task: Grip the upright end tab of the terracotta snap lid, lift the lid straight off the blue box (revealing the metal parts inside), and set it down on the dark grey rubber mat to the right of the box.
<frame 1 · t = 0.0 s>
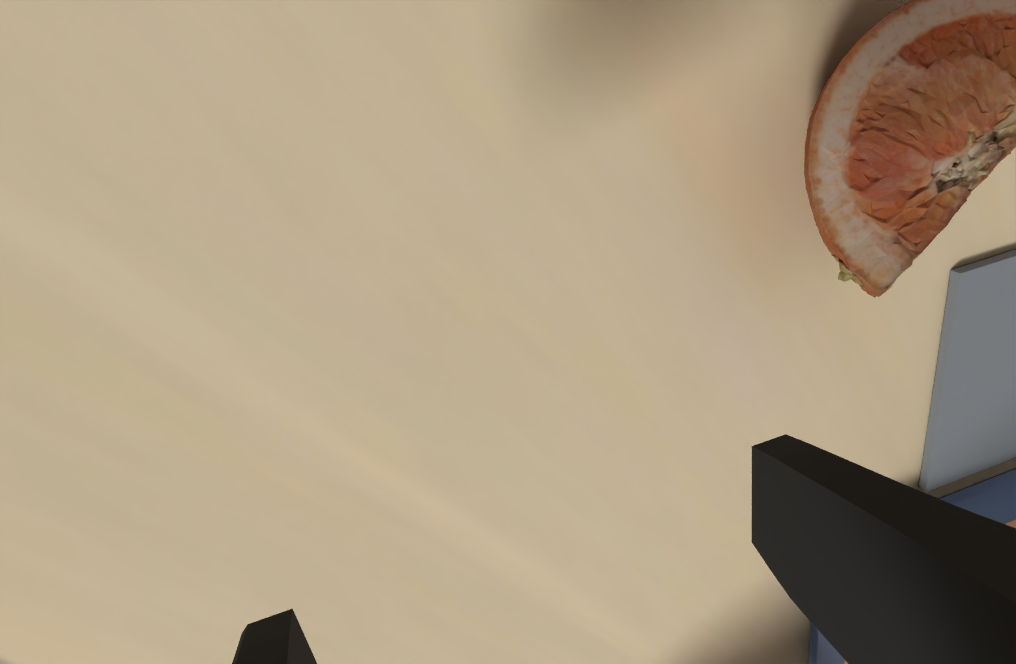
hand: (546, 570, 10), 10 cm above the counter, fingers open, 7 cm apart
blue box: (915, 567, 32), on the counter
fruit slice: (848, 125, 21), on the counter
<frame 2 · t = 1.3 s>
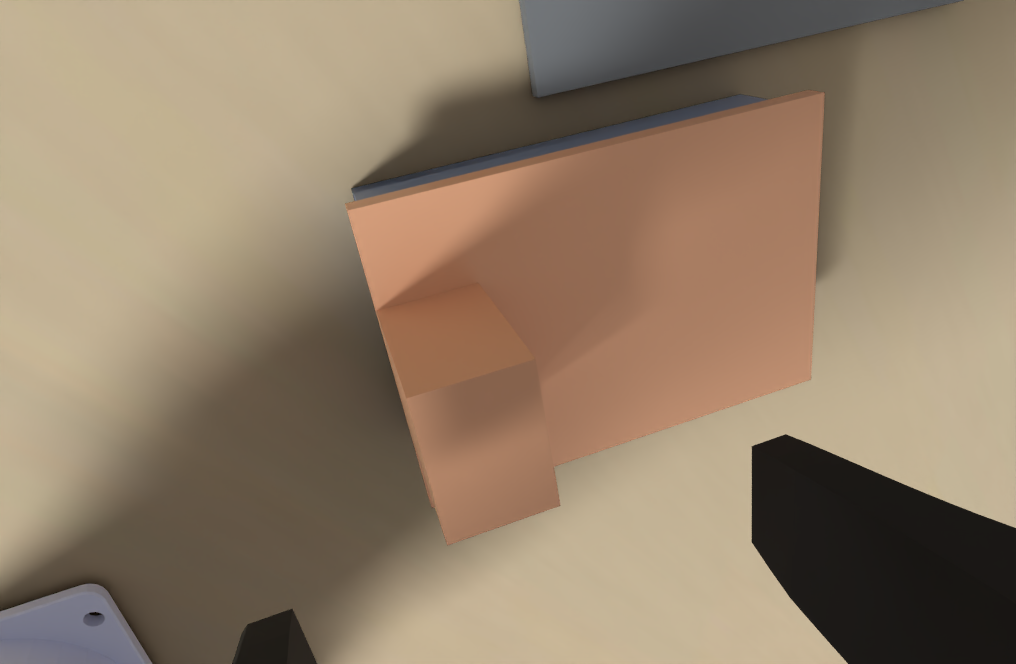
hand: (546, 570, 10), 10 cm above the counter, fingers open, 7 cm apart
blue box: (574, 270, 20), on the counter
lid: (609, 300, 18), point 2 cm above the counter, touching blue box
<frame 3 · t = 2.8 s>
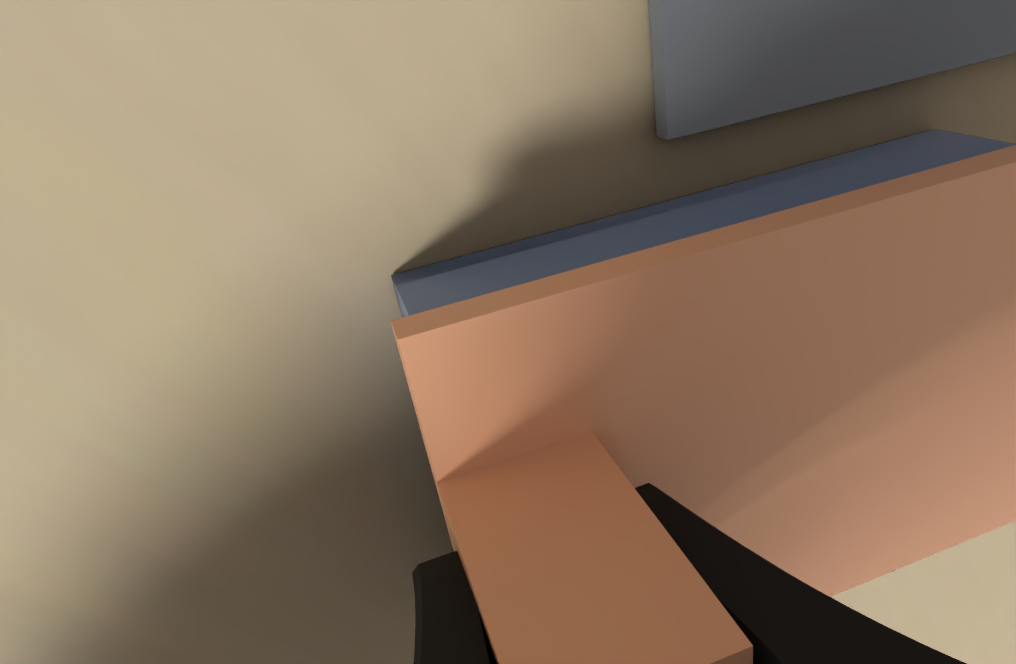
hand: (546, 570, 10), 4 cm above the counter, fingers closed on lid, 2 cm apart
blue box: (693, 372, 14), on the counter
lid: (764, 434, 12), point 2 cm above the counter, touching gripper, blue box
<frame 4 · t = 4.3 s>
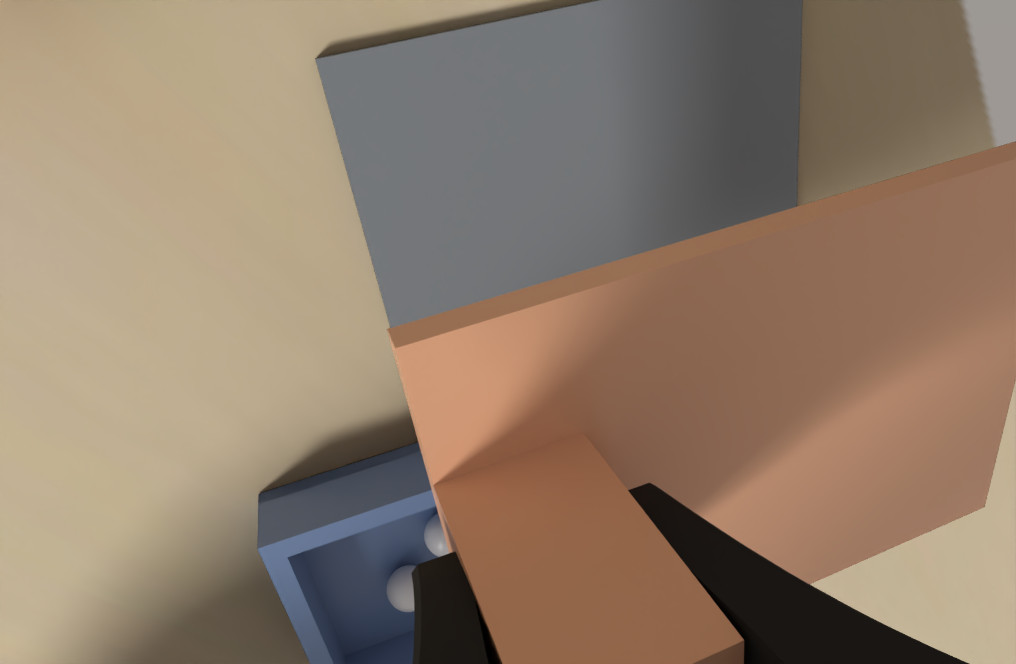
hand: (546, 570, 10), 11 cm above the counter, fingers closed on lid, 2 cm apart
blue box: (461, 526, 23), on the counter
mat: (593, 196, 20), on the counter
lid: (747, 430, 13), point 9 cm above the counter, touching gripper
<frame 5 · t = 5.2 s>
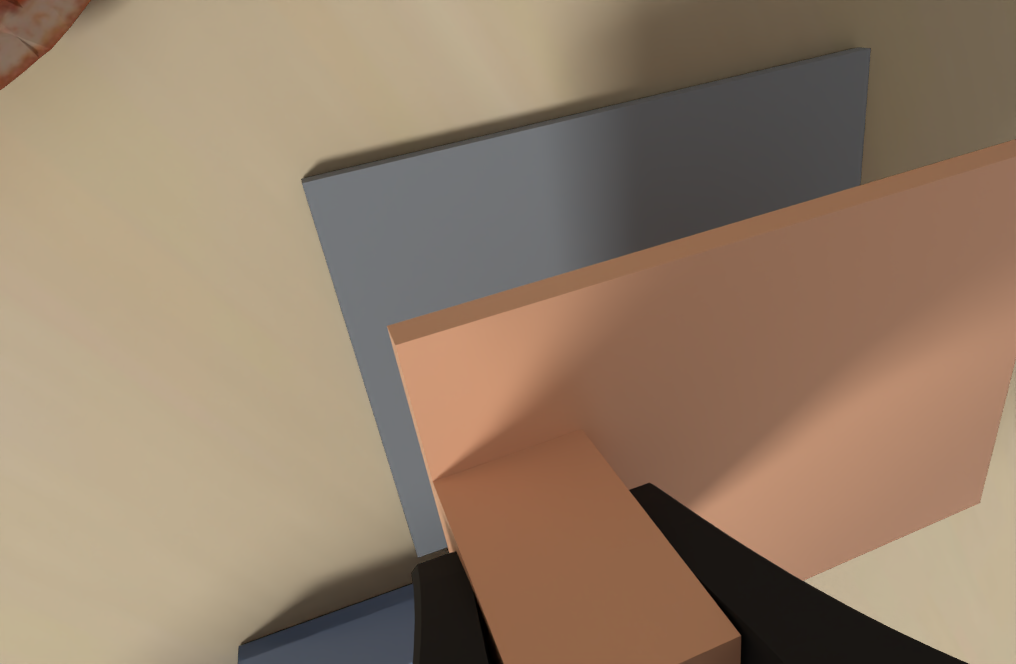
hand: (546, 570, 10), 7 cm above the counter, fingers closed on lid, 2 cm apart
blue box: (469, 663, 21), on the counter
mat: (622, 312, 17), on the counter
lid: (744, 426, 13), point 5 cm above the counter, touching gripper
when the fingers open (4 cm above the counter, at t = 6.0 s): lid stays where it is, resting on mat.
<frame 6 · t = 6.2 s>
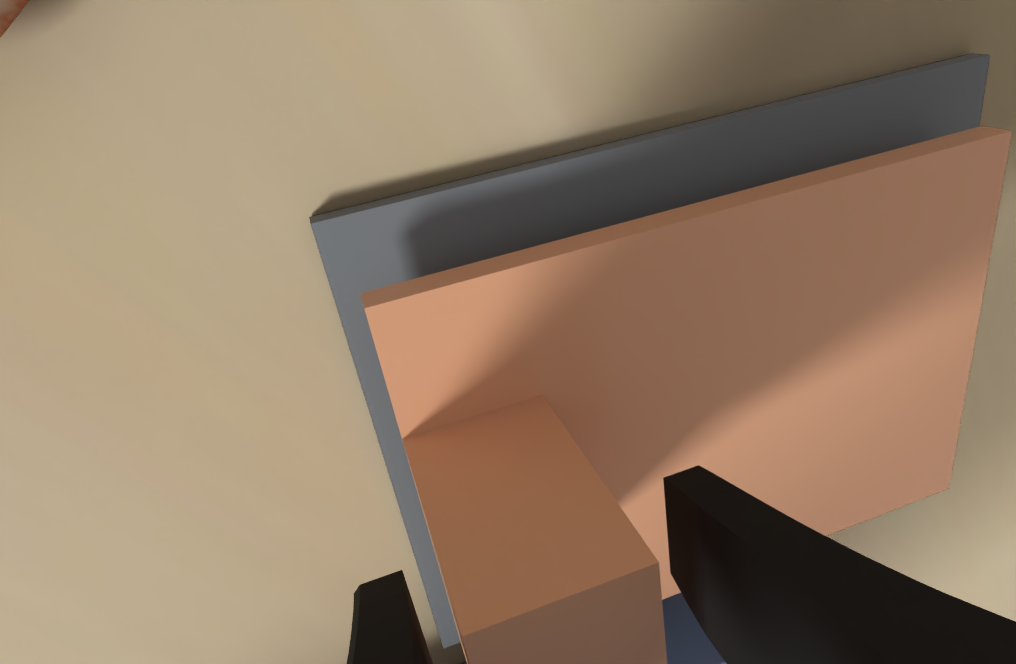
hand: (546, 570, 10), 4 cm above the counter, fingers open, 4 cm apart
mat: (686, 365, 15), on the counter
lid: (707, 403, 13), point 1 cm above the counter, touching mat
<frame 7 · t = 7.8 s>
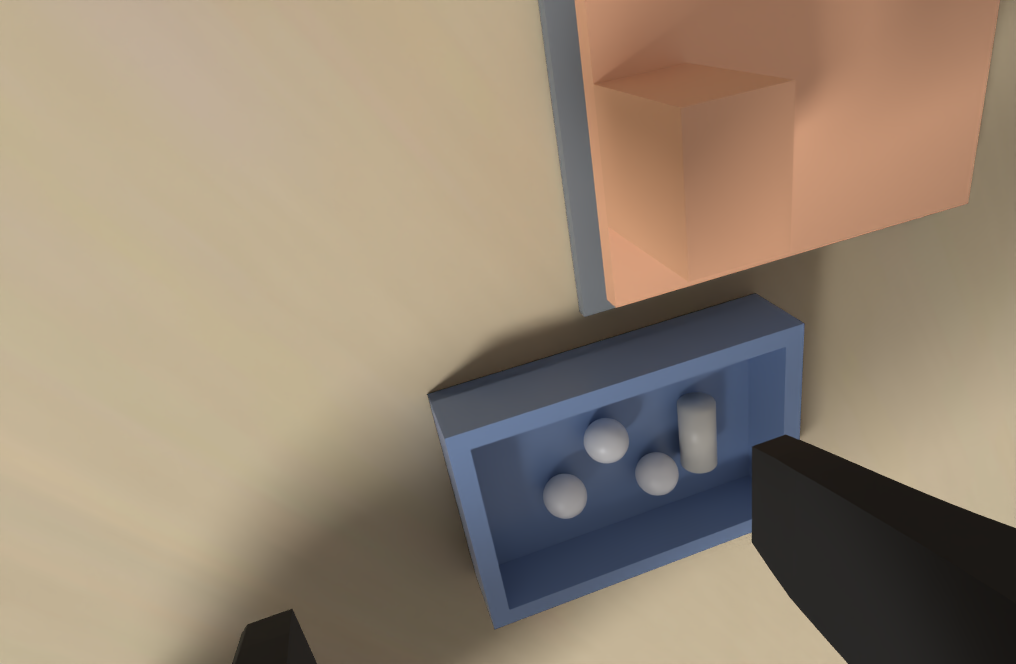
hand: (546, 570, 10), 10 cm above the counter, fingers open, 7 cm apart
blue box: (610, 438, 23), on the counter
mat: (771, 92, 20), on the counter
lid: (792, 103, 18), point 1 cm above the counter, touching mat
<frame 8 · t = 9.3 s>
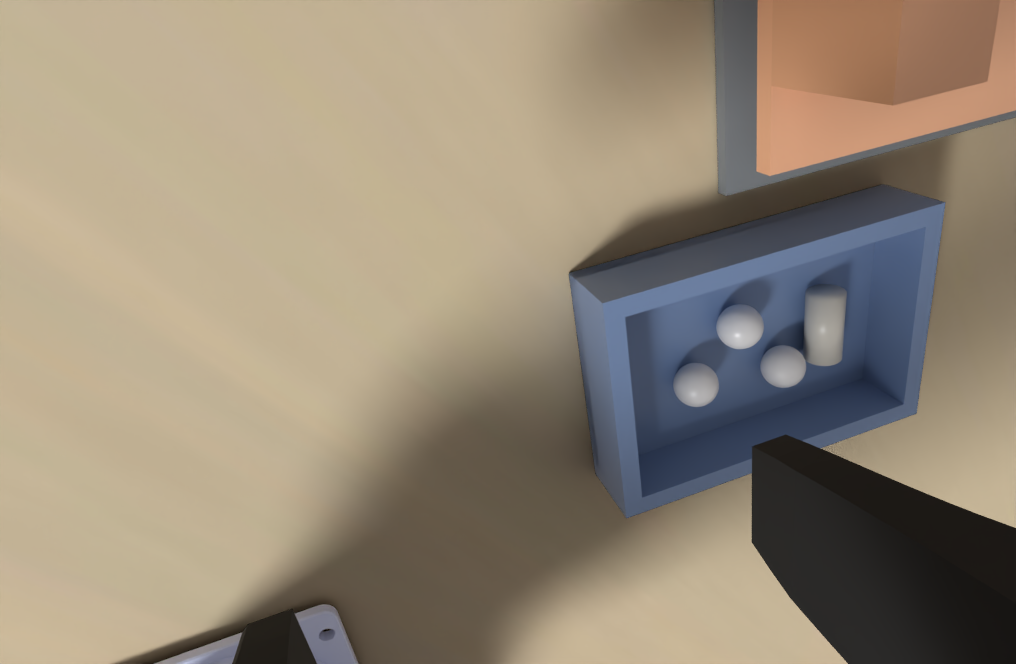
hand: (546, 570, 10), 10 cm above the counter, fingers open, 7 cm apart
blue box: (734, 333, 23), on the counter
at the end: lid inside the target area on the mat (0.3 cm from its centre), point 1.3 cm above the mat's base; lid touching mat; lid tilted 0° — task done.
